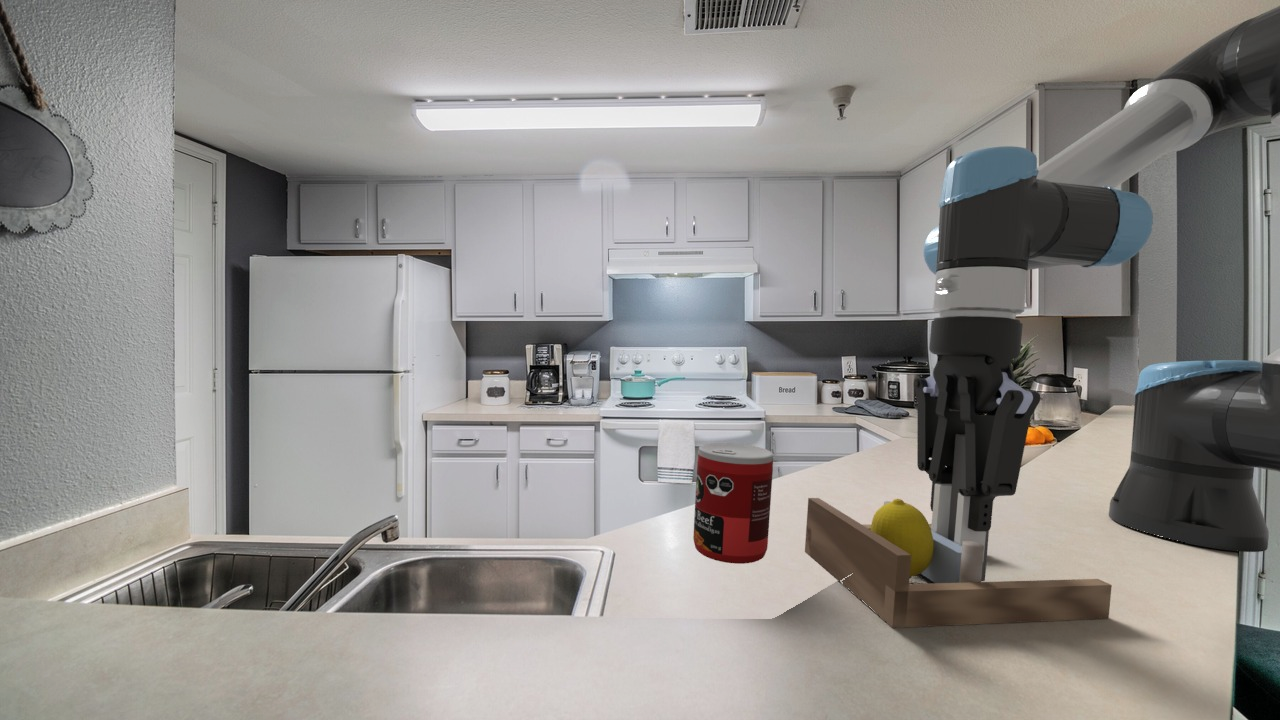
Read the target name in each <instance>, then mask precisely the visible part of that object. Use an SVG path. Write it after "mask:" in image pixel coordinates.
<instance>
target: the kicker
mask: <svg viewBox="0 0 1280 720" xmlns="http://www.w3.org/2000/svg"><path fill="white" fill-rule="evenodd" d="M982 482H983V481H981V482H980V483H982ZM959 489H966V460H965V434H956V438H955V450H954V463H953V476H952V489H951V502H950V515H949V528H948V539H947V538H945V537H943V536H941V535H939V534H937V533H935V532H933V531H932V530H931V532H932V536H933V542H934V550H933V556H932V560H931V563H930V565H929V566H928V567H927V569H926V570H924V571H923V572H922V573H920V574H921V575H922V576H923V577H925V578H927V579H928V580H930V581H931V582H933V583H959V579H960V566H961V554H962V546H960V545H958V544H956V543H955V542H954V536H955V525H956V513H957V501H958V493H960V492H959ZM989 535H990V530H989V531H986V538H985V549H984V561H983V565H982V577H981V582H986V573H987V572H986V569H987V558H988V546H989V537H990V536H989Z"/></svg>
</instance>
